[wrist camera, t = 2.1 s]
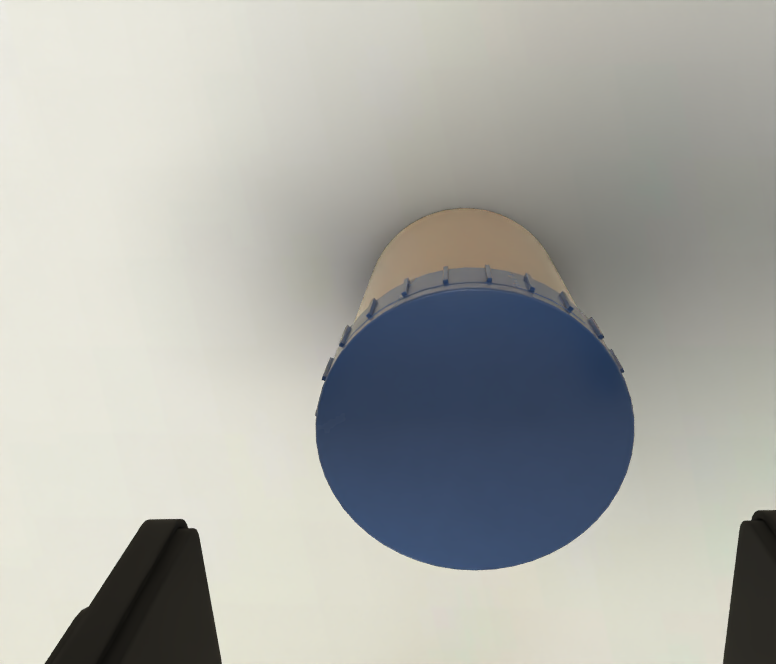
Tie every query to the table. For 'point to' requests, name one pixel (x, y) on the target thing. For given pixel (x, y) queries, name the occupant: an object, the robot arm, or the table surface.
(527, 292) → the jar lid
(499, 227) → the jam jar
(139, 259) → the table surface
